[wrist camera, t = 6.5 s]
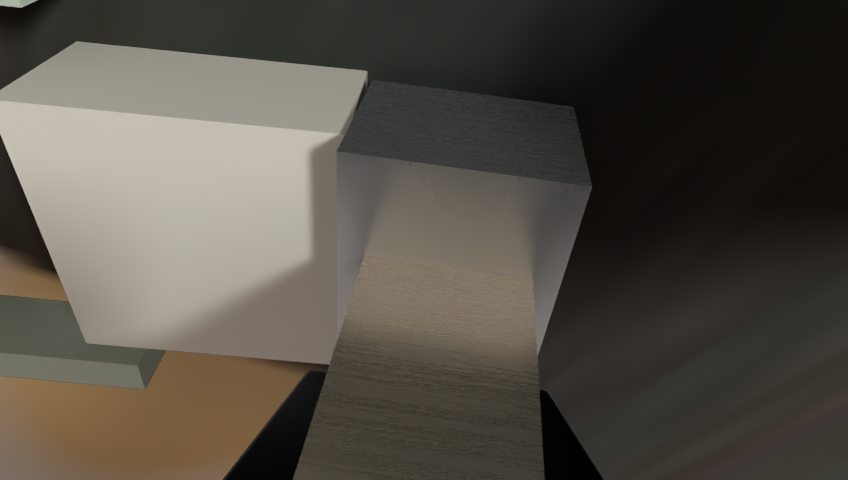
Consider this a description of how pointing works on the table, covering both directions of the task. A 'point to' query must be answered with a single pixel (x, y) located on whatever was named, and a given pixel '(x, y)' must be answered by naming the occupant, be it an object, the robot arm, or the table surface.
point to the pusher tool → (445, 284)
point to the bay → (64, 340)
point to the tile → (187, 195)
